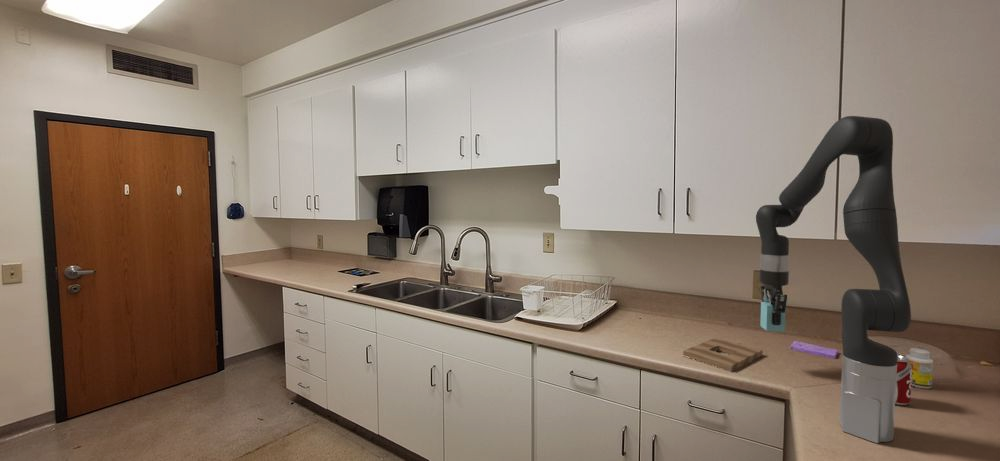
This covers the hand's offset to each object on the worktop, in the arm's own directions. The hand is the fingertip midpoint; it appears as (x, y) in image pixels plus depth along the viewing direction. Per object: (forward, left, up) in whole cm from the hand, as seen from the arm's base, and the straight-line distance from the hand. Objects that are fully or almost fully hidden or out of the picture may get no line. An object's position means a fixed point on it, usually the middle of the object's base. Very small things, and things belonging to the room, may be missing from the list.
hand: (772, 321), depth 126 cm
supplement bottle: (+22, -29, -16) cm, 40 cm away
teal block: (0, 0, -2) cm, 2 cm away
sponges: (+30, -2, -16) cm, 34 cm away
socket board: (0, +15, -16) cm, 21 cm away
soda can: (+4, -27, -16) cm, 32 cm away
